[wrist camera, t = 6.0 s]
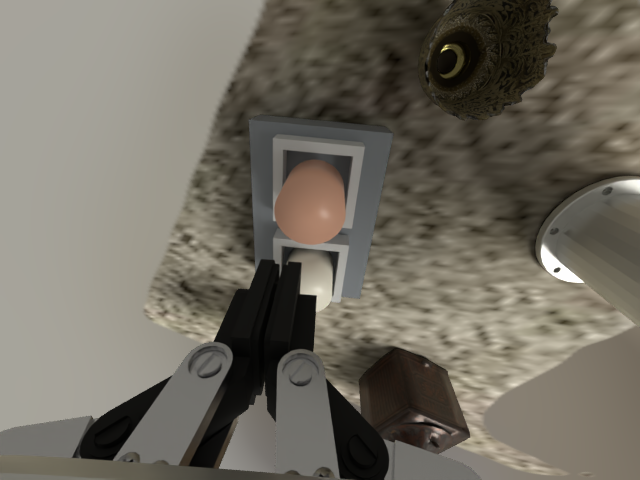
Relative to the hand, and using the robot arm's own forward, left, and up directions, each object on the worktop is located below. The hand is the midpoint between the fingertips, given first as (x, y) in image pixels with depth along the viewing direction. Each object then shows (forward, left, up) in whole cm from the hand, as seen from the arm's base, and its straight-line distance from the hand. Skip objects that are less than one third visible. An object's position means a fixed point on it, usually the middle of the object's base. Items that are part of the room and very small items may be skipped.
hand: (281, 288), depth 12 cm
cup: (-11, -10, -20) cm, 24 cm away
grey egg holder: (-1, +5, -19) cm, 20 cm away
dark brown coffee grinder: (-14, +31, -20) cm, 39 cm away
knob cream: (-1, +9, -15) cm, 18 cm away
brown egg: (-1, 0, -13) cm, 13 cm away
